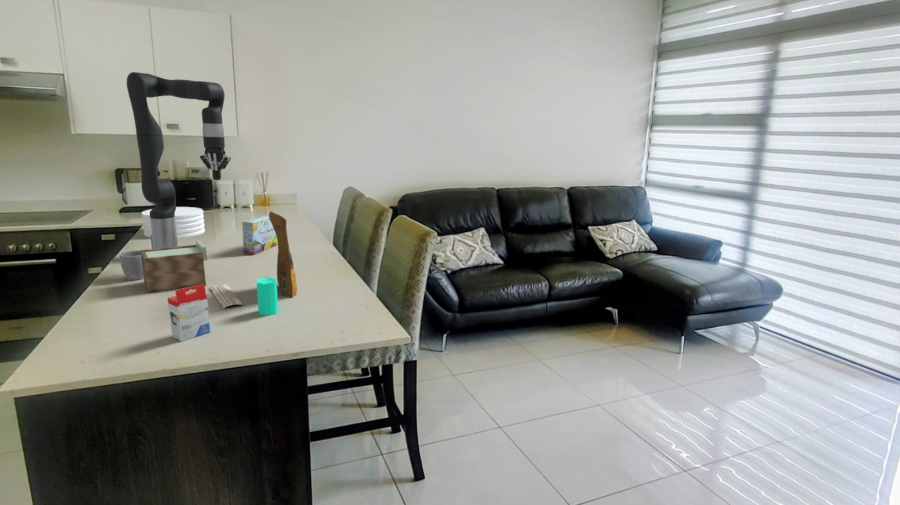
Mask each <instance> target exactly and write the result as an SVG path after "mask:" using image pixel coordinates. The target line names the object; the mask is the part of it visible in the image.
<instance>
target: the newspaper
mask: <svg viewBox="0 0 900 505" xmlns="http://www.w3.org/2000/svg"><path fill="white" fill-rule="evenodd" d="M209 290H210V292H211V293H212V295H213V296H214V297H216V298H215V299H216V300H217V303H218V304H219V305H220V304H221V305H220V306H221V308H222V307H223V308H222V309H223V310H225V309H226V308H227V307H229V306H237V305H239V306H240V305H241V307H243V306H244V304H243V303H242V302H241V300H240V299H239V298H238V297H237V295H236V294H235V293H234V291H233V290H232V289H231V288H230V287H229V285H228V284H216V285H215V284H214V285H212V286H210V287H209Z"/></svg>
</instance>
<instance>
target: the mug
mask: <svg viewBox="0 0 900 505" xmlns="http://www.w3.org/2000/svg"><path fill="white" fill-rule="evenodd" d="M118 255H119V256H118V257H119V258H118V259H119V262H120V266H121V269H122V272H123V274H124V275H125V276H126V278H127V279H129V280H128V281H139V280H138V279H140V280H144V275H143V267H142V259H141V251H140V250H128V251H124V252H123V251H122V252H121V253H119V254H118Z"/></svg>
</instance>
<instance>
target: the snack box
mask: <svg viewBox="0 0 900 505" xmlns="http://www.w3.org/2000/svg"><path fill="white" fill-rule="evenodd" d="M241 227H242V245H243V247H242V248H243V254H244V255H251V256H254V255H256V254H258V253H259V254H260V253H261V252H264V251H267V250H268V249H269V250H270V249H272V248H274V247H276V246H277V247H278V241H277V236H276V233H275V231H274V228H273V225H272V223H271V221H270V219H269V214H265V215H261V216H258V217H254V218H252V219H251V218H250V219H247V220H244V221H241Z"/></svg>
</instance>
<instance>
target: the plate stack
mask: <svg viewBox="0 0 900 505" xmlns="http://www.w3.org/2000/svg"><path fill="white" fill-rule="evenodd" d="M152 209H153V208H151V209H146V210H143V211H142V212H141V217H142V218H141V219H142V226H143V228H142V229H143V235H144V237H147V238H150V235H152V230H151V221H150V211H151V210H152ZM204 218H205V214H204V210H203V209H202V208H200V207H194V206H193V207H190V206H176V210H175V223H176V232H177V239H181V238H182V237H183V238H190V237H195V236H199V235H202V234H204V233H205V232H206V228H205V219H204Z"/></svg>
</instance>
